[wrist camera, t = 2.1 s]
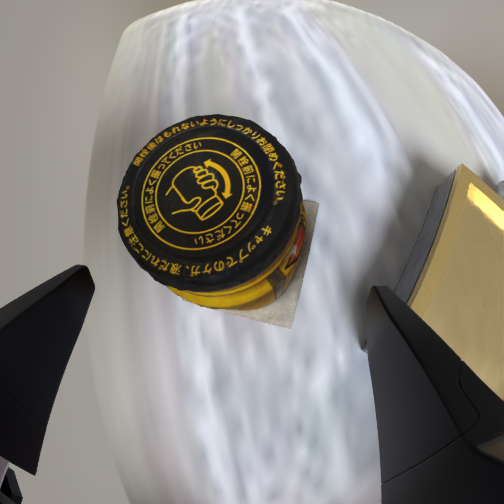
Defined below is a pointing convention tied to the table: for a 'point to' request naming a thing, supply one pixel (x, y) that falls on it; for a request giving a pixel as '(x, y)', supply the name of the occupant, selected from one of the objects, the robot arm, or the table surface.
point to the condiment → (219, 217)
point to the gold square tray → (462, 273)
